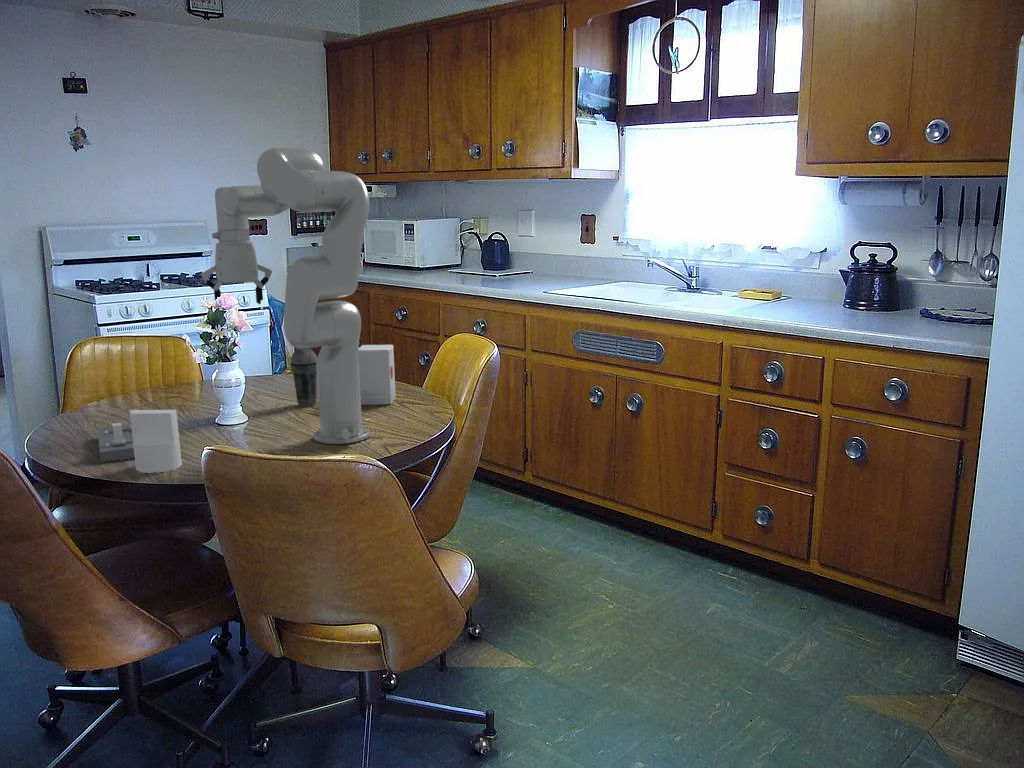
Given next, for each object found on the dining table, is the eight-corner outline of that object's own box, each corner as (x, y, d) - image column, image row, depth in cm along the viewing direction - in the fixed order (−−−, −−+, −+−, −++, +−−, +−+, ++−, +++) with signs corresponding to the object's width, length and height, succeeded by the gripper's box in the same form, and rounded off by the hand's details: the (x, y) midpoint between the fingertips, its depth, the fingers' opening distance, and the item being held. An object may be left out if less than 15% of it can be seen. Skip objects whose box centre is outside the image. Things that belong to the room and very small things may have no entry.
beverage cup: (324, 402, 242) (319, 329, 238) (316, 408, 235) (311, 333, 231) (298, 401, 243) (293, 329, 238) (289, 408, 236) (283, 333, 231)
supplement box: (391, 405, 237) (389, 349, 234) (358, 405, 238) (355, 350, 234) (396, 397, 246) (394, 343, 243) (364, 397, 246) (361, 344, 243)
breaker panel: (180, 452, 197) (179, 441, 196) (100, 463, 190) (99, 451, 190) (171, 429, 216) (170, 419, 216) (99, 438, 210) (97, 427, 209)
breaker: (126, 444, 195) (124, 425, 194) (112, 445, 194) (110, 427, 193) (125, 440, 198) (123, 421, 197) (111, 441, 197) (109, 423, 196)
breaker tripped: (142, 429, 207) (140, 411, 206) (129, 430, 206) (127, 413, 205) (141, 425, 210) (139, 408, 209) (128, 427, 209) (126, 409, 208)
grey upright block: (188, 460, 191) (183, 406, 189) (171, 473, 182) (165, 416, 180) (147, 460, 191) (141, 406, 189) (128, 474, 183) (121, 417, 180)
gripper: (199, 238, 218) (205, 308, 222) (271, 236, 225) (276, 304, 229) (196, 237, 225) (202, 305, 229) (266, 235, 232) (271, 300, 235)
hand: (239, 304), depth 229 cm, fingers open, 9 cm apart
